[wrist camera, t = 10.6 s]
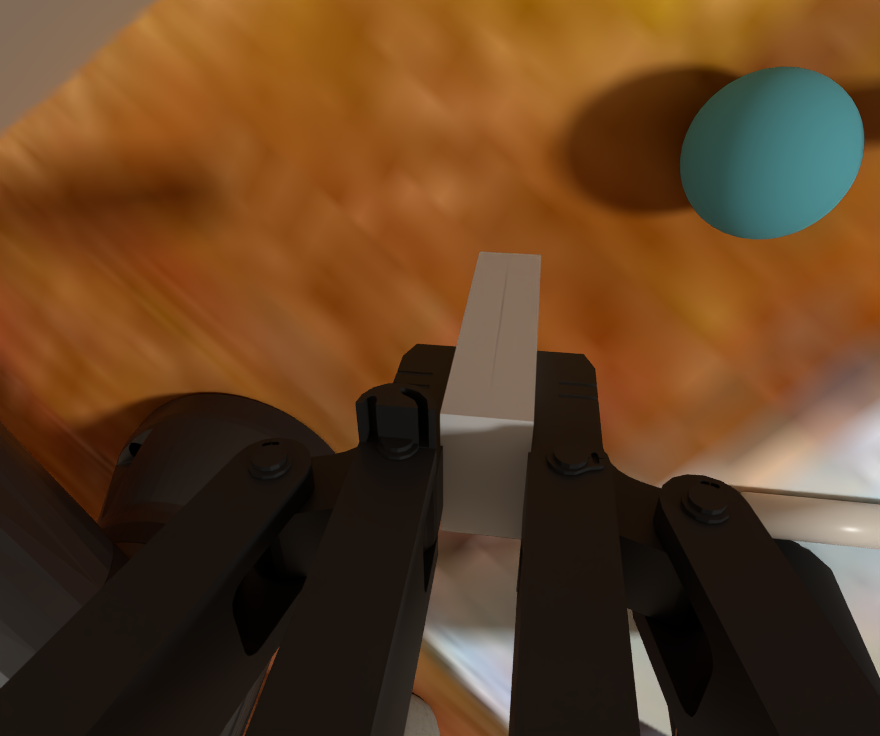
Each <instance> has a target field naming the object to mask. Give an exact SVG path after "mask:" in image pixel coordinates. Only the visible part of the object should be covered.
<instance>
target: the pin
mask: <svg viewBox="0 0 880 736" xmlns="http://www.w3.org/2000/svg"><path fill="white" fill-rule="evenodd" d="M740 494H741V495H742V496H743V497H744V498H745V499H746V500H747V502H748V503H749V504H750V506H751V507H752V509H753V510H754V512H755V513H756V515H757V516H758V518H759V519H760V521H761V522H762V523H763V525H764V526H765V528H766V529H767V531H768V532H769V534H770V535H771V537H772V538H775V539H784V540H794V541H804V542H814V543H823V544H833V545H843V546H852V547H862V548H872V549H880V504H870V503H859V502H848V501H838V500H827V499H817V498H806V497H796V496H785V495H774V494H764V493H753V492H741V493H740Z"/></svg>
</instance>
